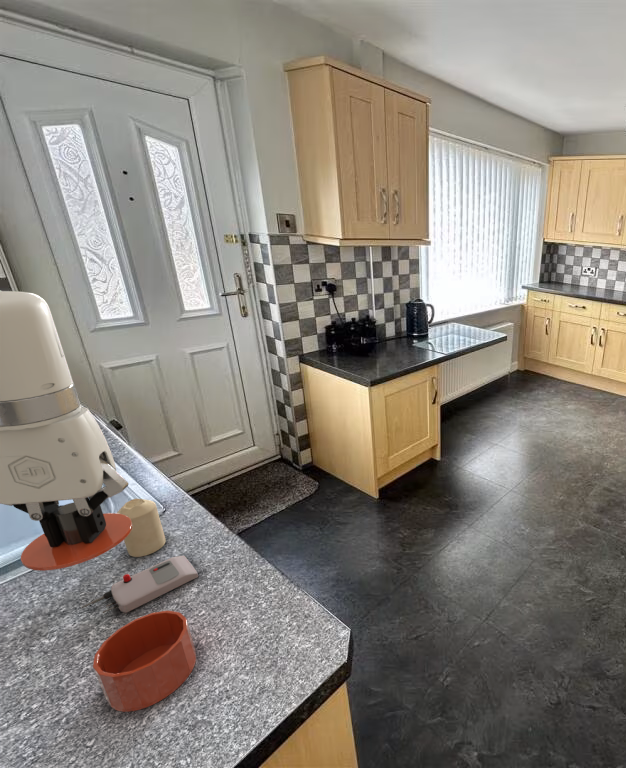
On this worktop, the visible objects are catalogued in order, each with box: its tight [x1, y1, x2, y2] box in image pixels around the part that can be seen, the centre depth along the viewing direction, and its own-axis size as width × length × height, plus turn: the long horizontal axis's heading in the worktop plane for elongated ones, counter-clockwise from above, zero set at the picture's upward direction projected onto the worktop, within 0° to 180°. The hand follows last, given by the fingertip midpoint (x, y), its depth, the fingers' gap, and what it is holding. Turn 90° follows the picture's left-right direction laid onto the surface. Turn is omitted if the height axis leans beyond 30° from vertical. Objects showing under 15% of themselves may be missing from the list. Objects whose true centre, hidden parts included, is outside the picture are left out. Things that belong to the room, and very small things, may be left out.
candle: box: [116, 498, 166, 558], centre depth 78 cm, size 6×6×10 cm
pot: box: [92, 609, 197, 713], centre depth 57 cm, size 9×9×6 cm
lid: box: [20, 502, 132, 572], centre depth 53 cm, size 10×10×6 cm
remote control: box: [81, 555, 202, 614], centre depth 71 cm, size 7×16×3 cm, turn 143°
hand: (79, 536), depth 53 cm, fingers closed on lid, 2 cm apart
